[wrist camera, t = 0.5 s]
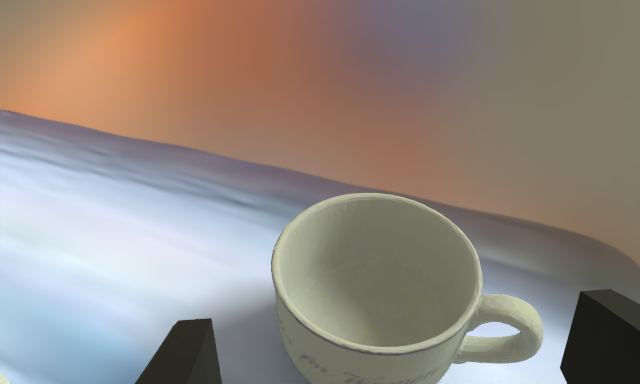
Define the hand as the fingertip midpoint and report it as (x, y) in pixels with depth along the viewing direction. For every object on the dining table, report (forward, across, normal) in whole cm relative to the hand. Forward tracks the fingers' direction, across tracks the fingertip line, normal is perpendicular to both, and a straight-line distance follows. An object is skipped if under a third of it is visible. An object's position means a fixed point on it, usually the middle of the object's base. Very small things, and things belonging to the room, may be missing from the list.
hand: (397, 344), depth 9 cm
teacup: (+15, -3, +15) cm, 21 cm away
